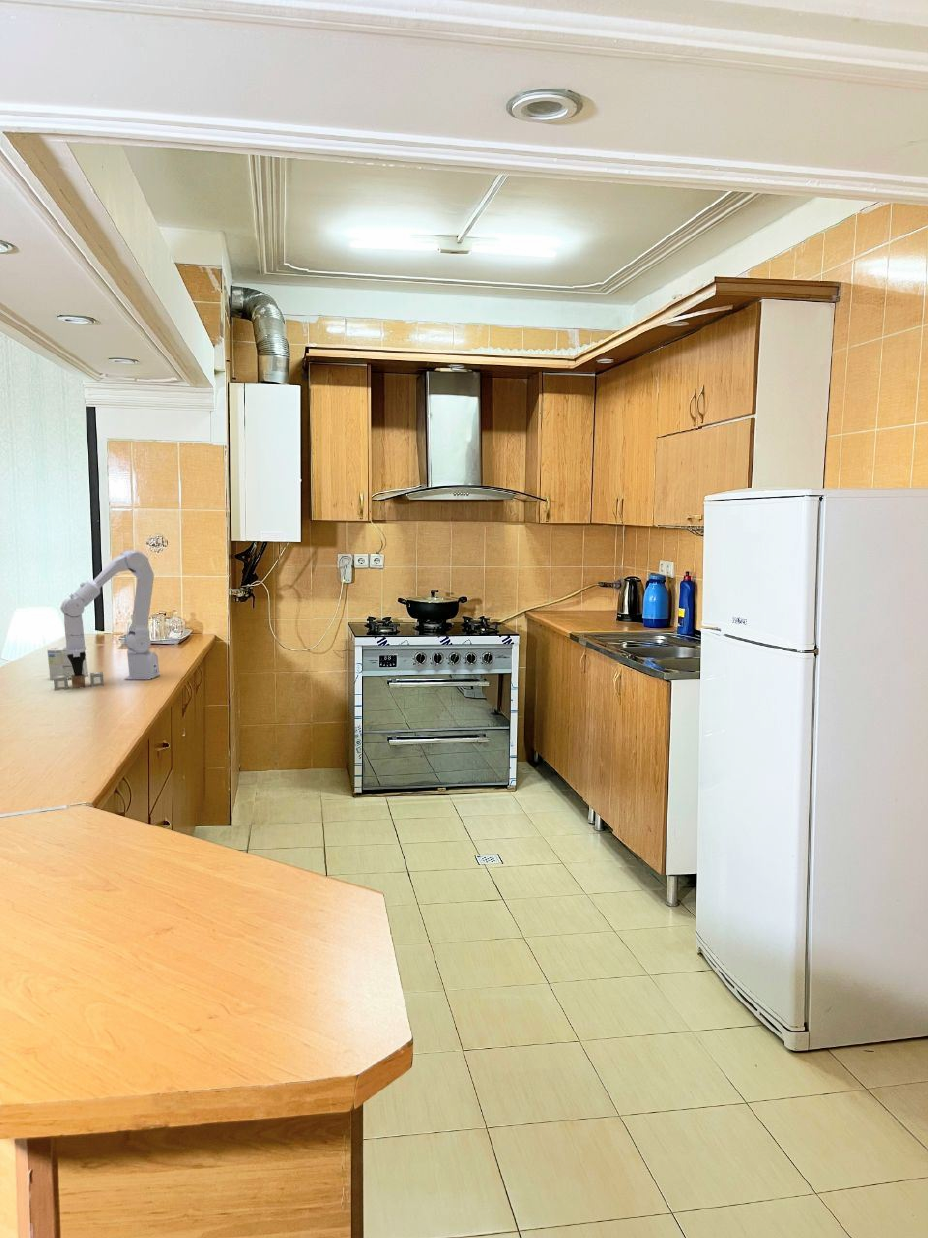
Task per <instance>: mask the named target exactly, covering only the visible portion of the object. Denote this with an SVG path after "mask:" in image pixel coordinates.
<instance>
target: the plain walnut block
mask: <svg viewBox="0 0 928 1238" xmlns="http://www.w3.org/2000/svg"><path fill="white" fill-rule="evenodd" d="M71 677H72V679H71V686H72V689H73V688H74V689H81V688H80V687H83V688H86V676H85V675H84V674H82V675H78V676H75V675H71Z"/></svg>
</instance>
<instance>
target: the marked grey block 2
mask: <svg viewBox="0 0 928 1238" xmlns="http://www.w3.org/2000/svg"><path fill="white" fill-rule="evenodd" d="M89 679H90V687H91V686H92V687H98V686H97V685H102V686H105V682H104V672H103V671H98V672H97V671H96V672H89Z"/></svg>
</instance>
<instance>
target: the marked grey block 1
mask: <svg viewBox="0 0 928 1238" xmlns="http://www.w3.org/2000/svg"><path fill="white" fill-rule="evenodd" d="M68 680H69V679H67V675H65V676H56V677H54V679H53V684H54V691H61V690H60V689H64V690H68V689H69V682H68Z"/></svg>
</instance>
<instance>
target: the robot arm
mask: <svg viewBox="0 0 928 1238" xmlns="http://www.w3.org/2000/svg"><path fill="white" fill-rule="evenodd" d="M124 571H125V572H126V571H130V572H131V573H132V574H133V575H134V576H135V577H136V578H137V580H136V586H135V587H136V588H135V595H134V603H133V610H132V619H131V624H130V626H128V632H127V634H126V636H125V637H124V641H123V642H124V645H125V647H126V648H127V649H128V650H127V664H128V665H127V666H128V676H126V677H125V678H124V680H125V681H126V680H127V681H128V680H130V681H131V680H152V679H155V678H157V677H159V676H161V673H160V667H159V656H158V654H157V653H156V652H153V651H150V648H151V645H152V642H151V638H150V629H149V626H148V624H149V617H150V609H151V608H150V607H151V601H152V600H151V599H152V593H153V586H154V585H153V584H154V578H155V574H154V572H153V570H152V566H151V564H150V562H149V558H148V557H147V556H146V555H145V554H144V553H143V552H142V551H140V550H131V549H124V550H123V551H121V553H120V554H119V555H117V556H115V557H114V558H113V559H112V561H110V562H109V564H107V566H106V567H104V569H102V570H101V572H100V573H99V574H98V575H97V576H96V577H95V578H94V579H92V580H91V581H87V580H86V581H85V582H81V583H80V587H79V588H78V589H77V590H75V592H74V593H71V594H70V595H69V598H67V599H64V600H63V601H62V602H61V606H60V609H59V610H60V611H61V612H62V614H63V625H64V626H63V627H64V634H65V635H64V636H65V647H66V648H64V649H63V651H67V652H71V653H73V654H68V655H67V657H68V659H69V660H70V662H71V664H72V667H73V671H74V674H75V676H78V675H82V670H83V662H84V659H85V656H86V657H87V654H86V653H87V652H86V650H87V646H86V641H85V640H86V639H85V631H84V630H85V628H84V620H83V613H84V612H85V608H86V607H87V606H88V605H89V604H91V603H92V602H93V601H94V600H95V599H96V598H97V597H98V596H99V595H101V588H102V587H103V586H104V585H105V584H107V582H109V580H111V579H112V578H113V577H114V576H115V575H117V574H118V573H119V572H124ZM84 650H85V652H86V653H85V652H82V651H84ZM80 652H81V653H80ZM151 678H152V679H151Z"/></svg>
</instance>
